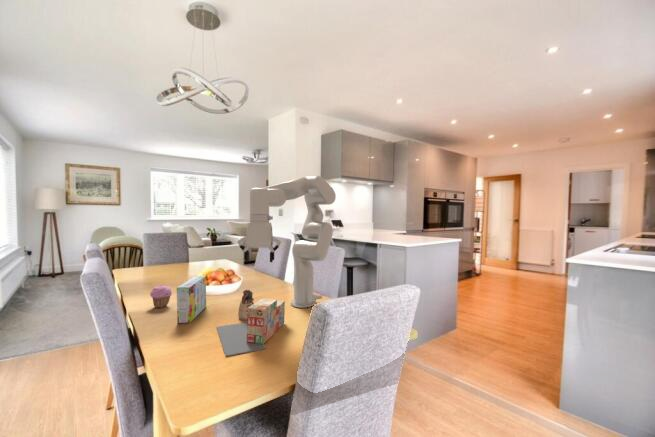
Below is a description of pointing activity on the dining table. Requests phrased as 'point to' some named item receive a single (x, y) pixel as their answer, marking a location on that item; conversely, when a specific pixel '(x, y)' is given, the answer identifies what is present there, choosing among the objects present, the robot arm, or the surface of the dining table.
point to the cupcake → (161, 296)
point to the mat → (236, 339)
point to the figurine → (245, 304)
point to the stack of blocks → (264, 319)
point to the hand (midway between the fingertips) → (259, 261)
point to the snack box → (191, 299)
